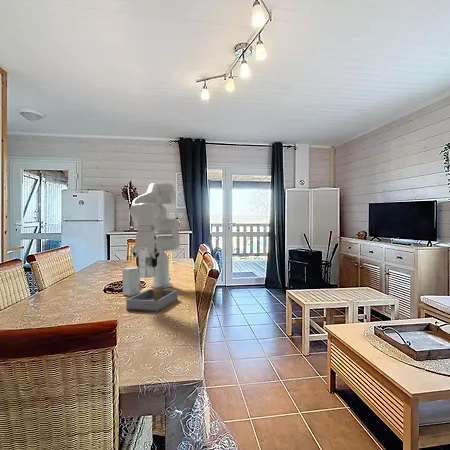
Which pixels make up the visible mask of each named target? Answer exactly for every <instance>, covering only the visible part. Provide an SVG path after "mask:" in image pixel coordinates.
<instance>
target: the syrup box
mask: <svg viewBox="0 0 450 450" xmlns="http://www.w3.org/2000/svg"><path fill="white" fill-rule="evenodd" d="M152 259H153V257H152V255H151V253H149V252H148V248H147V247H141V248H140V252H139V253H138V277H140V278H144V279H147V278H151V277H152V278H153V276H155V267H152Z"/></svg>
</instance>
